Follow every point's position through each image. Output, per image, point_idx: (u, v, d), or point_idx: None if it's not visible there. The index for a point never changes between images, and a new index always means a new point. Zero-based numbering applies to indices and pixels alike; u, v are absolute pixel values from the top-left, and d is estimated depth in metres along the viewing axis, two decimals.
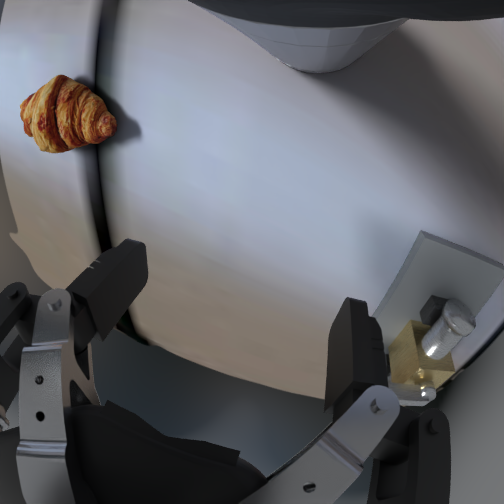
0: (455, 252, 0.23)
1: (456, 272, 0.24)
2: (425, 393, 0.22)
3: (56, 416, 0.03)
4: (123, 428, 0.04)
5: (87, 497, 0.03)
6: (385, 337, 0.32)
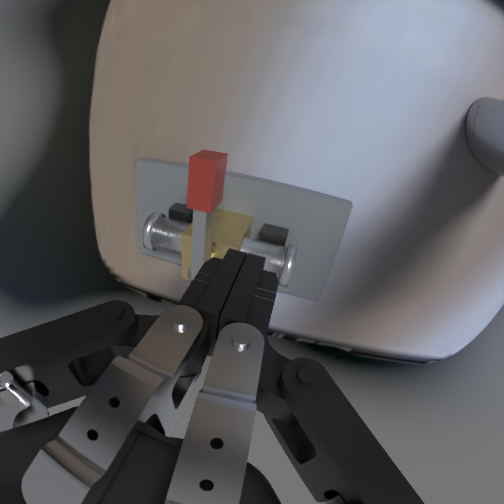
0: (337, 240, 0.32)
1: (316, 247, 0.33)
2: None
3: (109, 447, 0.03)
4: None
5: None
6: (223, 197, 0.33)
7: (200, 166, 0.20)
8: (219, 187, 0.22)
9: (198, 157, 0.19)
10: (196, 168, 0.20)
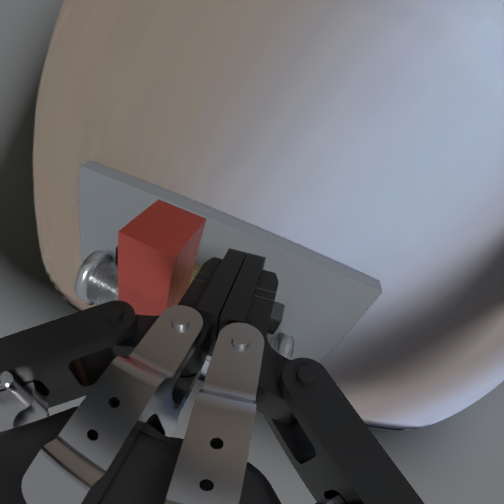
0: (348, 327, 0.22)
1: (317, 330, 0.23)
2: None
3: (109, 446, 0.03)
4: None
5: None
6: None
7: (140, 258, 0.09)
8: (181, 285, 0.11)
9: (137, 238, 0.08)
10: (132, 258, 0.09)
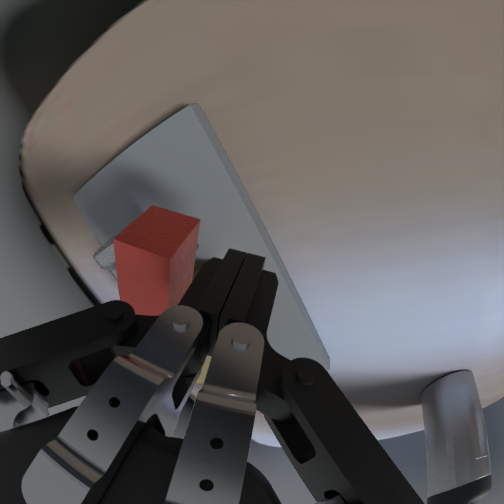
0: None
1: None
2: None
3: (109, 446, 0.03)
4: None
5: None
6: None
7: (137, 263, 0.09)
8: (182, 288, 0.11)
9: (132, 243, 0.08)
10: (130, 264, 0.09)
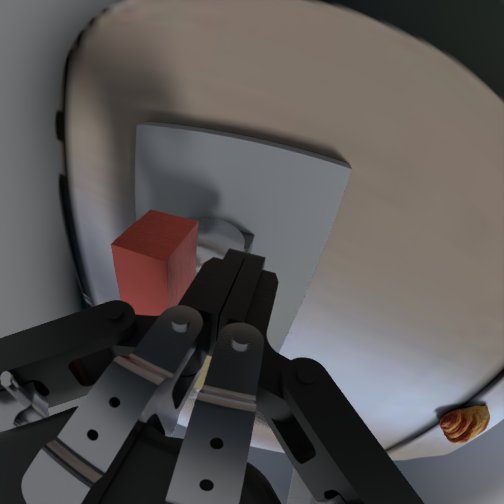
0: None
1: None
2: None
3: (109, 446, 0.03)
4: None
5: None
6: None
7: (135, 267, 0.09)
8: (183, 291, 0.11)
9: (129, 248, 0.08)
10: (128, 268, 0.09)
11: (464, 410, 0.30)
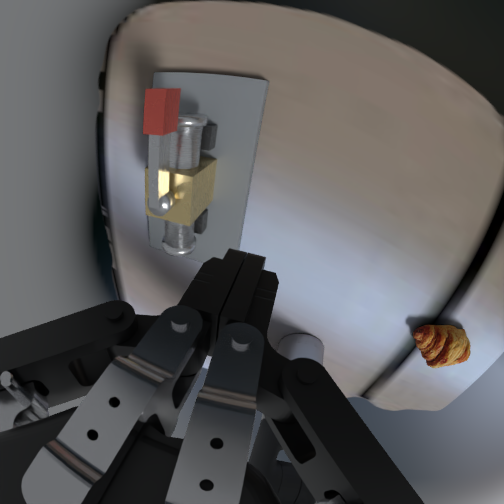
0: (205, 261, 0.43)
1: None
2: (165, 198, 0.27)
3: (109, 446, 0.03)
4: None
5: None
6: (226, 175, 0.34)
7: (153, 95, 0.20)
8: (171, 115, 0.22)
9: (153, 88, 0.19)
10: (150, 97, 0.20)
11: (438, 325, 0.40)
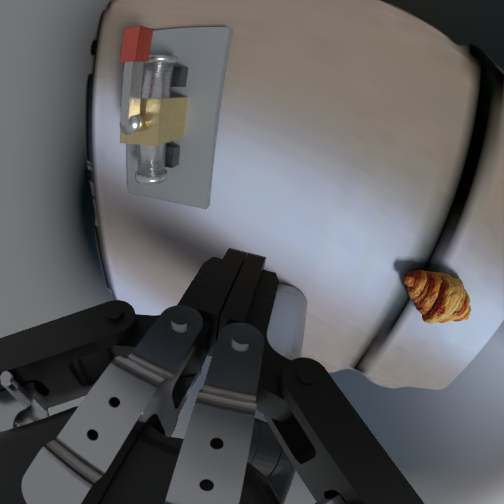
0: (178, 201, 0.42)
1: (169, 186, 0.41)
2: (135, 116, 0.26)
3: (109, 447, 0.03)
4: None
5: None
6: (196, 110, 0.33)
7: (130, 32, 0.19)
8: (144, 47, 0.22)
9: None
10: (128, 34, 0.19)
11: None
